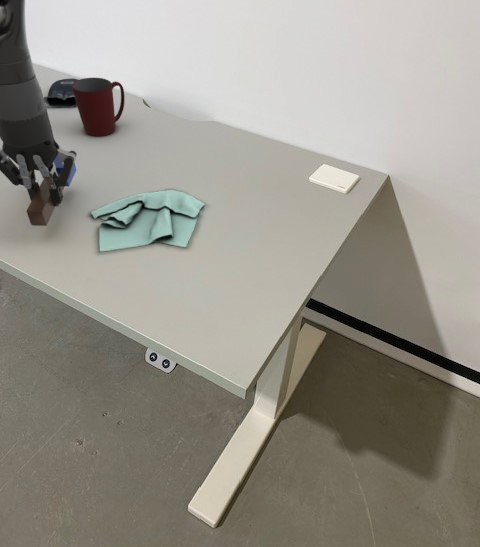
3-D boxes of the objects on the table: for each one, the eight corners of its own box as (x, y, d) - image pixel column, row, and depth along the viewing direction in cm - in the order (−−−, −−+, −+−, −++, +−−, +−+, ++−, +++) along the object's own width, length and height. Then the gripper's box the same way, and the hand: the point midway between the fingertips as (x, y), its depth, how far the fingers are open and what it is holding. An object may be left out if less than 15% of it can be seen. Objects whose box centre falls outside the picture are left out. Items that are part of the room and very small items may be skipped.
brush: (26, 225, 70) (19, 205, 67) (55, 169, 83) (50, 150, 80) (51, 226, 70) (45, 206, 68) (76, 170, 83) (72, 151, 80)
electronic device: (84, 112, 115) (88, 83, 124) (76, 93, 110) (81, 65, 119) (49, 116, 114) (56, 88, 123) (40, 98, 110) (48, 69, 119)
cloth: (215, 201, 85) (215, 190, 83) (170, 270, 70) (169, 260, 68) (125, 180, 89) (123, 170, 87) (64, 242, 74) (60, 231, 72)
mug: (119, 116, 111) (112, 72, 103) (136, 129, 106) (130, 84, 98) (75, 127, 105) (65, 82, 97) (91, 141, 100) (81, 94, 93)
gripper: (72, 99, 66) (93, 193, 78) (-20, 95, 65) (15, 191, 77) (60, 120, 60) (84, 217, 72) (-42, 116, 59) (0, 215, 71)
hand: (48, 203), depth 74 cm, fingers closed on brush, 2 cm apart
